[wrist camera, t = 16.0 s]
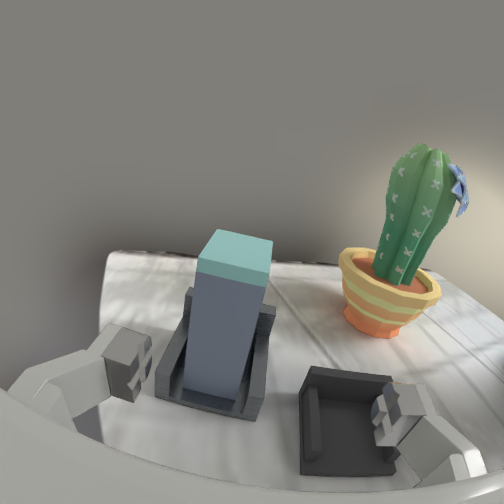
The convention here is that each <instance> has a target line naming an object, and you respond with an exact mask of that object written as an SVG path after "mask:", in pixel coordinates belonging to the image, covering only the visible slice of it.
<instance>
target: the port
mask: <svg viewBox="0 0 504 504" xmlns="http://www.w3.org/2000/svg"><path fill="white" fill-rule="evenodd" d="M193 291H194V288H192V287H189V289H188V291H187V293H186V294H185V303H184V312H183V317H182V319H181V321H180V323H179V325H178V327H177V329H176V331H175V333H174V335H173V337H172V339H171V341H170V343H169V345H168V347H167V349H166V351H165V353H164V355H163V357H162V359H161V361H160V363H159V365H158V367H157V369H156V371H155V397H157V398H161V399H164V400H167V401H171V402H174V403H178V404H181V405H185V406H189V407H193V408H196V409H200V410H204V411H208V412H213V413H217V414H221V415H226V416H231V417H235V418H240V419H245V420H251V421H256V419H257V416H258V413H259V411H260V408H261V405H262V403H263V400H264V394H265V383H266V371H267V358H268V346H269V336H270V332H271V329H272V326H273V322H274V319H275V316H276V307H274V306H270V305H265V304H261V308H260V312H259V316H258V320H257V323H256V327H255V331H254V335H253V339H252V342H251V346H250V350H249V353H248V357H247V361H246V364H245V368H244V372H243V375H242V379H241V383H240V386H239V390H238V394H237V397H236V400H232V399H227V398H223V397H218V396H214V395H210V394H206V393H202V392H198V391H194V390H191V389H187V388H183V379H184V368H185V358H186V349H187V340H188V331H189V323H190V314H191V306H192V299H193Z"/></svg>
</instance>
